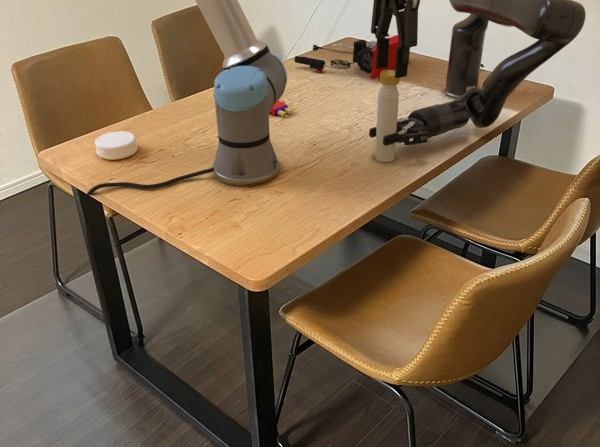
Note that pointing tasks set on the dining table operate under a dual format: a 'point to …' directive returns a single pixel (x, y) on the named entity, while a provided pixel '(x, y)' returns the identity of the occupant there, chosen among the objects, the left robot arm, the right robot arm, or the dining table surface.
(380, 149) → the bottle
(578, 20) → the right robot arm
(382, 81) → the cap
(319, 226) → the dining table surface
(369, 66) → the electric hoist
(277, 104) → the toy figure
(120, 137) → the white round container
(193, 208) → the dining table surface
